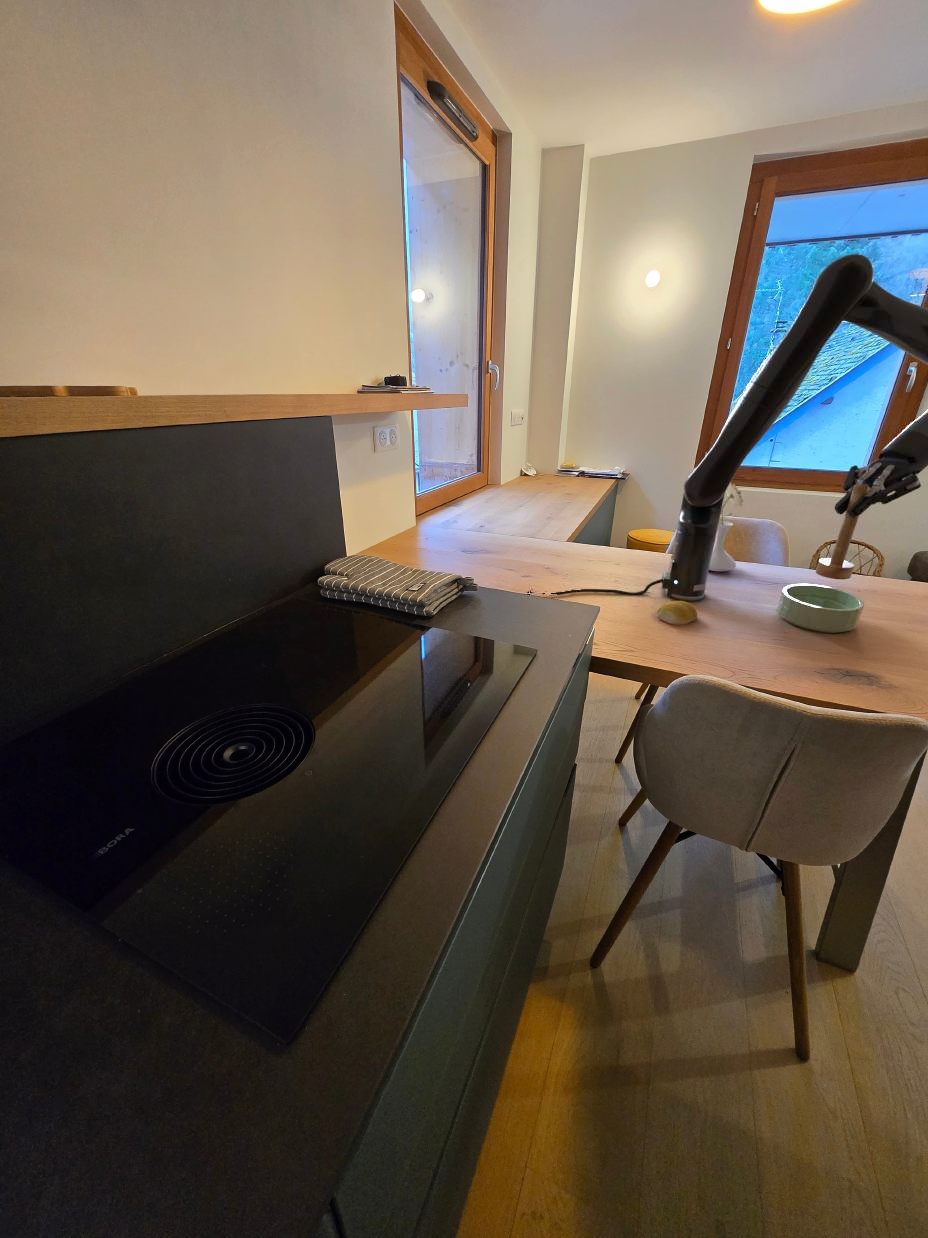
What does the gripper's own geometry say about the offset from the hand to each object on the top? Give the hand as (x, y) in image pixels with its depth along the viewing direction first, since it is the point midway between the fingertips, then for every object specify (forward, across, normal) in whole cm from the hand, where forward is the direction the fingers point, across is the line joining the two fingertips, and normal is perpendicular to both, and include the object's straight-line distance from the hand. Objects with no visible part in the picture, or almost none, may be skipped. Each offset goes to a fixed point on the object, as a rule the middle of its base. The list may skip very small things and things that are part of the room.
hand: (844, 512), depth 95 cm
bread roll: (+34, -16, +5) cm, 38 cm away
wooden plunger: (+8, 0, +11) cm, 13 cm away
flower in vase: (+12, -45, +28) cm, 54 cm away
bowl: (+12, -8, +27) cm, 31 cm away
